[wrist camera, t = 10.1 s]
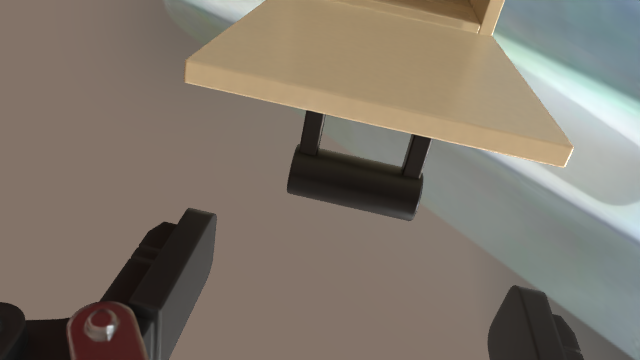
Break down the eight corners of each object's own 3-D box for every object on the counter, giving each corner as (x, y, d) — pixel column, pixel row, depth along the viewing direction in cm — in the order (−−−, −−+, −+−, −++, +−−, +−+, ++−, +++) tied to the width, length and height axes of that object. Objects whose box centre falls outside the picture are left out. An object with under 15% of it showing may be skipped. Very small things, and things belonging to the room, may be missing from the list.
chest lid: (183, 59, 16) (176, 196, 19) (576, 147, 16) (514, 275, 19) (279, -11, 30) (267, 75, 32) (493, 36, 30) (464, 119, 32)
